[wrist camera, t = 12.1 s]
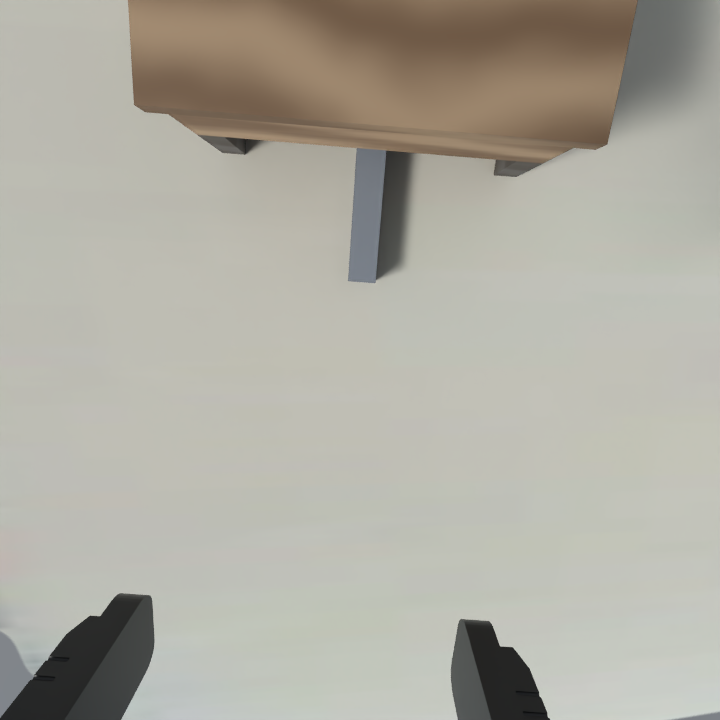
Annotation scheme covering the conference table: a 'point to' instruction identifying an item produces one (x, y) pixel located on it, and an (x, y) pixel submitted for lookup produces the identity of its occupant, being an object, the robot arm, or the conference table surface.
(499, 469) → the conference table surface
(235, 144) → the cabinet
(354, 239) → the scraper
